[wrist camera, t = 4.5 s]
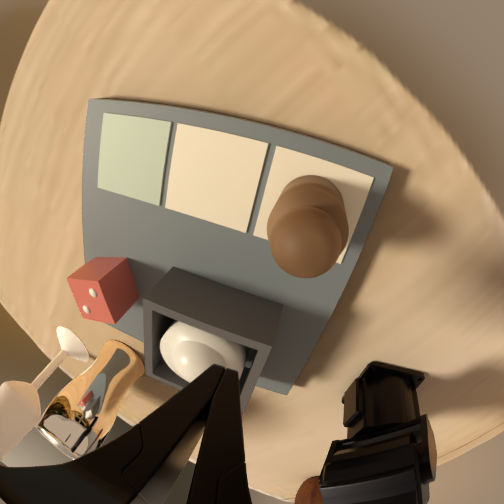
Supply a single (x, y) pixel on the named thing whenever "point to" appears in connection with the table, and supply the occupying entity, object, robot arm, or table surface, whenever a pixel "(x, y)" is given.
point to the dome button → (199, 351)
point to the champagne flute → (31, 394)
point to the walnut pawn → (308, 227)
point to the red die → (104, 289)
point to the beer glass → (91, 401)
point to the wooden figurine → (309, 492)
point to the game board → (216, 229)
